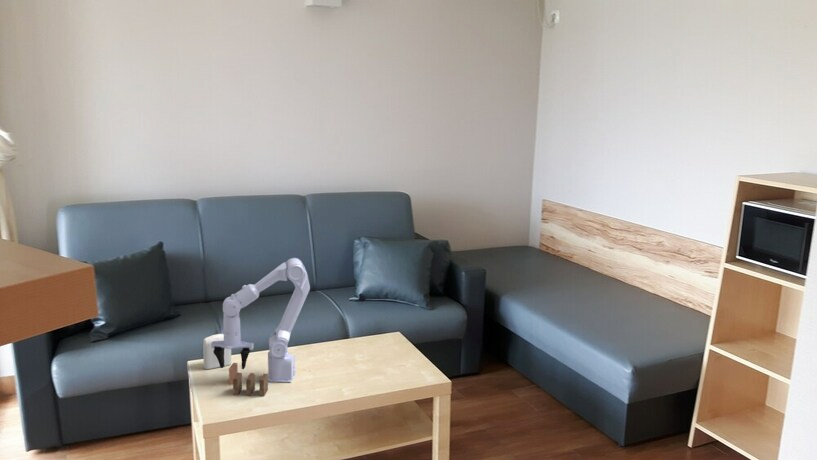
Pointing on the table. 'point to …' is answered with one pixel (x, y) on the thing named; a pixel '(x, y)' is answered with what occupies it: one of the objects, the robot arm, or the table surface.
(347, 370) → the table surface
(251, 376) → the walnut domino
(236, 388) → the walnut domino
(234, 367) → the terracotta domino
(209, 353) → the white box with text
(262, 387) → the walnut domino
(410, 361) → the table surface
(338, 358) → the table surface
